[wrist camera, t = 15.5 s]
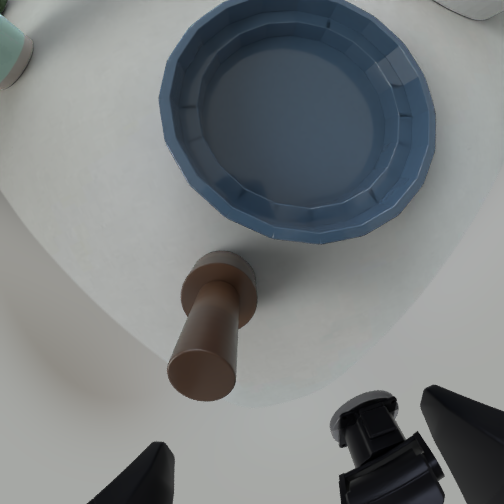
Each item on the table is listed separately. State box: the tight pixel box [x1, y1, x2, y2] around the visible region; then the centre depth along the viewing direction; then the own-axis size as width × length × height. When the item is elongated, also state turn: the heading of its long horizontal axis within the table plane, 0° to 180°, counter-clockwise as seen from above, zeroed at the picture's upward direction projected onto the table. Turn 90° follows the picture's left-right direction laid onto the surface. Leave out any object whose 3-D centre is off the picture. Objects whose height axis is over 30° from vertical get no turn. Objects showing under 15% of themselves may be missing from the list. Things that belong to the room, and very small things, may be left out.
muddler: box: [167, 251, 257, 401], centre depth 13 cm, size 4×4×10 cm
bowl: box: [159, 0, 436, 245], centre depth 14 cm, size 15×15×4 cm
